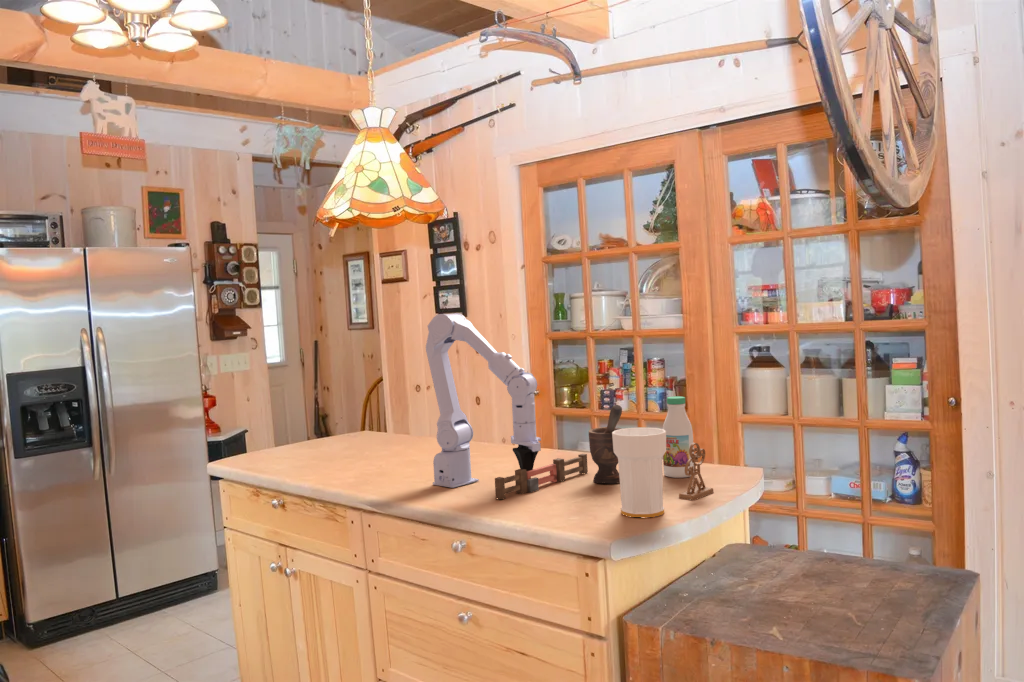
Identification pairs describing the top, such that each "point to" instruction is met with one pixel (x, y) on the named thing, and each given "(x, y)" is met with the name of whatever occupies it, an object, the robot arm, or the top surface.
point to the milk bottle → (677, 438)
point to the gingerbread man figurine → (692, 491)
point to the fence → (532, 484)
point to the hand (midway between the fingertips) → (526, 475)
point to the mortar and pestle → (605, 449)
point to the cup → (640, 469)
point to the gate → (549, 478)
